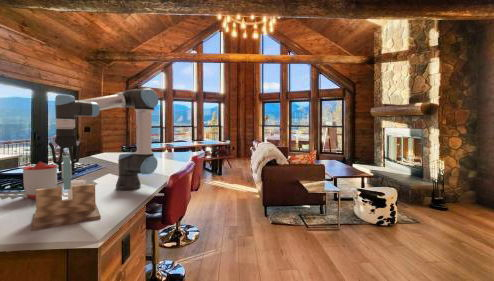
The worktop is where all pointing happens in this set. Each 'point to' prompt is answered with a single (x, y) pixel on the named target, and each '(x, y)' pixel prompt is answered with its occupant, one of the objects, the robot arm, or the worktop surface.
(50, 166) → the citrus juicer
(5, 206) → the worktop surface
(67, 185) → the teal slotted plate
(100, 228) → the worktop surface
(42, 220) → the joint base
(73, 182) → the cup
